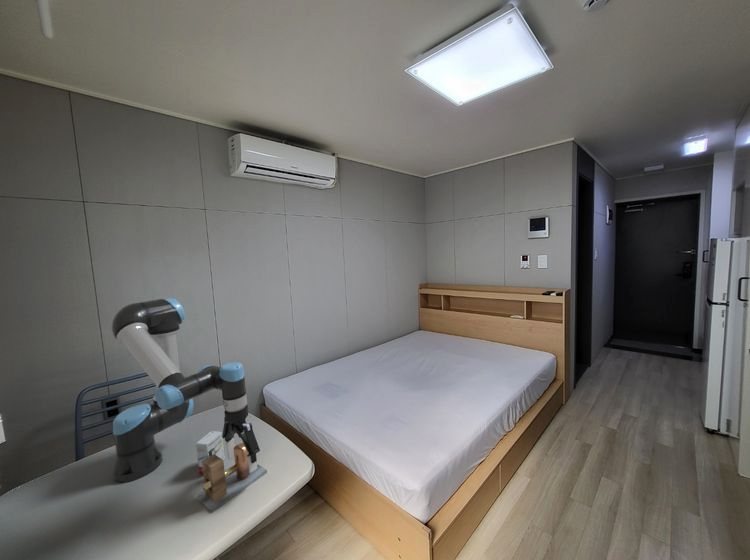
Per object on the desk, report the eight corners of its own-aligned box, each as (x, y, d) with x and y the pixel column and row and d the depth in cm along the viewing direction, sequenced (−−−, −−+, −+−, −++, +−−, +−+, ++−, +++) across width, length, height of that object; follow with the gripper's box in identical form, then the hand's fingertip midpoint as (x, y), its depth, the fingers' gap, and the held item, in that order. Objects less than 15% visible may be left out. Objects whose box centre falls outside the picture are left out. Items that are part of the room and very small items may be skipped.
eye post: (197, 498, 100) (192, 462, 99) (251, 462, 116) (248, 431, 115) (212, 512, 94) (207, 473, 93) (267, 472, 111) (263, 439, 110)
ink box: (209, 474, 111) (206, 444, 110) (198, 473, 112) (195, 443, 111) (225, 458, 120) (222, 431, 119) (215, 457, 121) (211, 430, 120)
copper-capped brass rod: (202, 497, 99) (198, 467, 98) (245, 468, 111) (242, 441, 110) (209, 503, 96) (205, 472, 95) (252, 473, 109) (249, 445, 108)
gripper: (207, 403, 110) (214, 458, 112) (246, 421, 96) (253, 483, 98) (227, 395, 116) (233, 446, 118) (266, 410, 102) (272, 469, 104)
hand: (242, 463), depth 108 cm, fingers open, 13 cm apart
